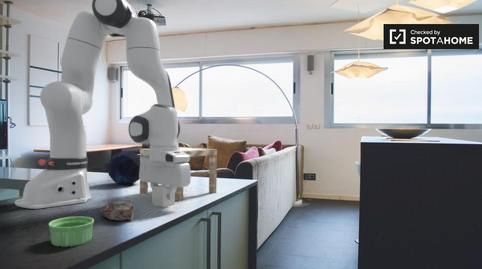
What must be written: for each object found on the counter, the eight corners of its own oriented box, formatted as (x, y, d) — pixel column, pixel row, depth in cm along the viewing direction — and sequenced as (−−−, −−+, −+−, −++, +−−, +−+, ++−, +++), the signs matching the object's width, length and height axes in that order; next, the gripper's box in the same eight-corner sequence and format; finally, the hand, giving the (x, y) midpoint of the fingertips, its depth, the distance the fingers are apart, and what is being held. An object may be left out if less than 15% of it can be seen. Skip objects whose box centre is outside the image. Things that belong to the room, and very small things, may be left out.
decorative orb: (103, 175, 141) (127, 144, 145) (98, 170, 154) (120, 142, 158) (132, 195, 147) (155, 165, 151) (125, 189, 160) (146, 161, 164)
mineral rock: (99, 212, 105) (100, 197, 104) (128, 210, 108) (128, 195, 108) (103, 226, 91) (103, 209, 91) (135, 223, 94) (135, 206, 94)
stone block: (162, 207, 112) (163, 187, 112) (152, 204, 115) (152, 186, 115) (174, 204, 116) (174, 185, 116) (163, 202, 119) (163, 184, 119)
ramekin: (38, 244, 76) (38, 224, 76) (72, 233, 85) (72, 214, 85) (71, 250, 73) (71, 229, 73) (102, 238, 82) (102, 218, 81)
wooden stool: (178, 201, 121) (179, 152, 121) (139, 193, 133) (140, 149, 132) (216, 192, 138) (216, 149, 137) (178, 186, 149) (179, 146, 149)
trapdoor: (179, 154, 125) (179, 150, 125) (151, 151, 133) (151, 148, 133) (205, 151, 136) (205, 148, 136) (178, 149, 145) (178, 147, 145)
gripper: (134, 153, 118) (134, 195, 119) (179, 157, 107) (179, 204, 107) (149, 152, 124) (149, 192, 124) (194, 156, 112) (193, 200, 112)
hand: (163, 198), depth 115 cm, fingers closed on stone block, 5 cm apart
